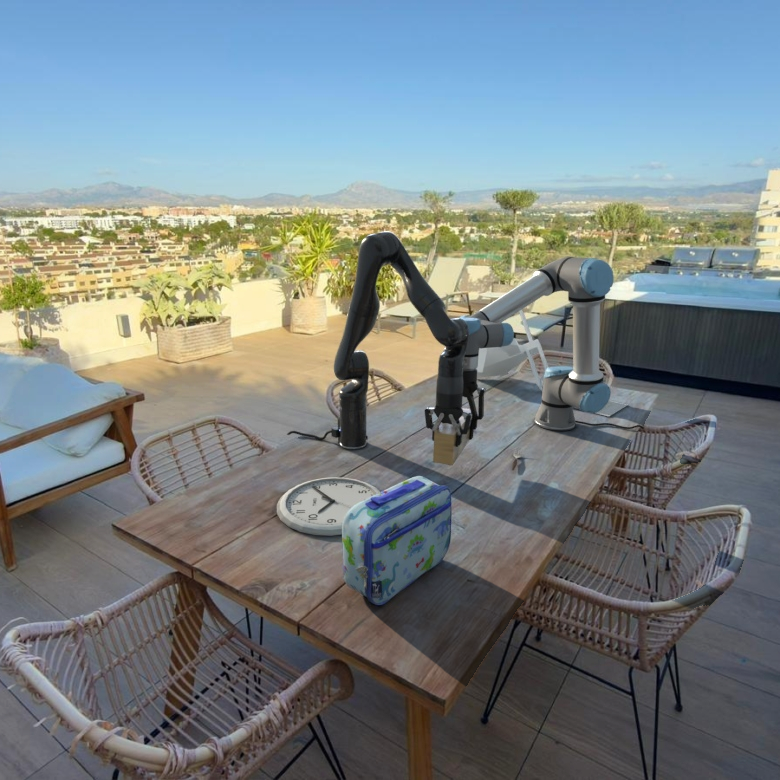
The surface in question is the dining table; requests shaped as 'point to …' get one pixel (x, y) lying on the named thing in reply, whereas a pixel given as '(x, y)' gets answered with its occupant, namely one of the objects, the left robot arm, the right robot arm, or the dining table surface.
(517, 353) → the white plastic object
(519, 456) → the fork
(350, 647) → the dining table surface
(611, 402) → the invitation card
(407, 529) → the lunch box
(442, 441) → the bar
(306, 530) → the wall clock
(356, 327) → the left robot arm
